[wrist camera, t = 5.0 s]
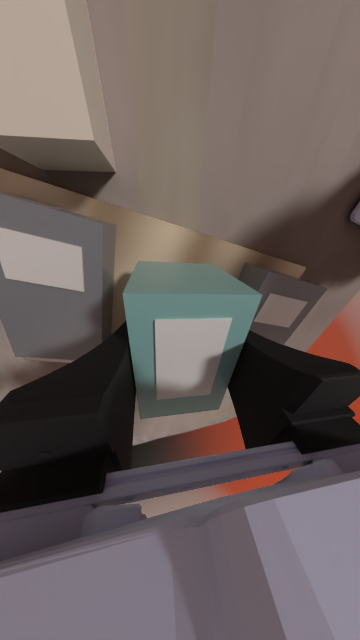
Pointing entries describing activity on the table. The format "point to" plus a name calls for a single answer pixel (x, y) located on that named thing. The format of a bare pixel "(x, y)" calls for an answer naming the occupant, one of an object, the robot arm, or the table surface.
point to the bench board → (145, 238)
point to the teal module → (185, 334)
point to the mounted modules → (97, 283)
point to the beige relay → (52, 87)
